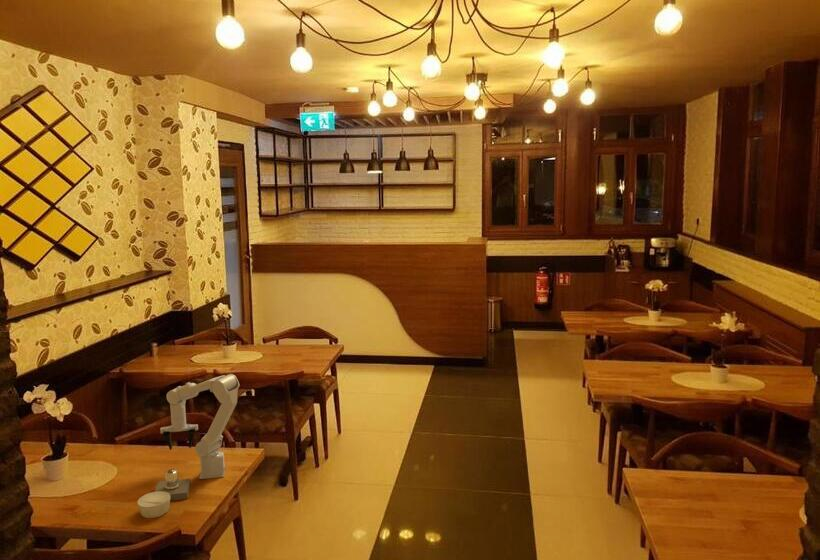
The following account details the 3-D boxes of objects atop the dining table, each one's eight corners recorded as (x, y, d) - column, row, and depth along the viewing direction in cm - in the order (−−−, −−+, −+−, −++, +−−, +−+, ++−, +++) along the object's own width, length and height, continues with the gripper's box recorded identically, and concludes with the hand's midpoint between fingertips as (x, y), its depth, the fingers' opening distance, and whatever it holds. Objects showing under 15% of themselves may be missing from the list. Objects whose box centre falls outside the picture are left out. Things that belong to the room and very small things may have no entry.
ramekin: (138, 523, 226) (137, 509, 225) (138, 508, 236) (137, 494, 235) (172, 516, 230) (171, 502, 230) (170, 501, 240) (169, 488, 240)
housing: (178, 482, 250) (176, 466, 249) (180, 487, 246) (179, 471, 245) (164, 485, 248) (162, 469, 247) (166, 491, 243) (164, 474, 242)
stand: (190, 484, 254) (190, 478, 254) (187, 498, 242) (186, 492, 242) (158, 487, 251) (158, 481, 251) (153, 502, 240) (153, 496, 239)
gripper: (197, 411, 269) (199, 442, 271) (161, 414, 266) (163, 445, 268) (196, 417, 262) (198, 448, 265) (158, 420, 259) (161, 452, 261)
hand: (180, 447), depth 266 cm, fingers open, 7 cm apart
